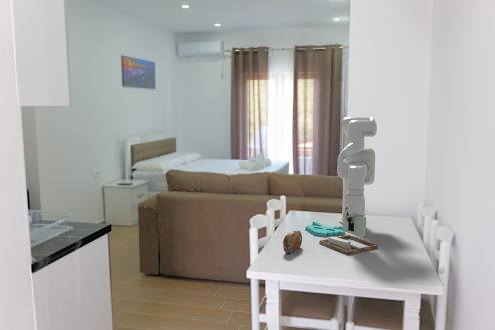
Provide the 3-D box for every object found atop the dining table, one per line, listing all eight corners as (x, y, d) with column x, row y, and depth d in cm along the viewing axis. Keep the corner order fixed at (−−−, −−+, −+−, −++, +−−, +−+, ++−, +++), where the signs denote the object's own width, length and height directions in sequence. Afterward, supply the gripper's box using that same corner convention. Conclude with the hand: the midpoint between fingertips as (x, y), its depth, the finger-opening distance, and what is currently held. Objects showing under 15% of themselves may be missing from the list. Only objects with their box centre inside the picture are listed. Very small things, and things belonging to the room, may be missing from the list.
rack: (348, 237, 216) (348, 234, 216) (377, 248, 200) (378, 244, 200) (319, 243, 206) (319, 240, 206) (347, 255, 190) (347, 251, 190)
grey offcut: (332, 241, 205) (332, 236, 205) (350, 246, 198) (350, 241, 197) (328, 242, 203) (328, 237, 202) (346, 247, 196) (346, 242, 195)
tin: (288, 255, 189) (288, 237, 188) (281, 254, 191) (281, 236, 189) (302, 246, 202) (302, 229, 200) (296, 245, 203) (296, 228, 202)
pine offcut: (332, 244, 206) (332, 240, 206) (351, 251, 196) (351, 247, 196) (327, 245, 204) (327, 241, 204) (346, 253, 195) (346, 248, 194)
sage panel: (346, 229, 211) (347, 211, 209) (365, 236, 200) (366, 217, 199) (342, 230, 209) (343, 212, 208) (360, 237, 199) (361, 218, 198)
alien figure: (313, 224, 241) (300, 234, 223) (313, 221, 240) (300, 229, 223) (349, 230, 232) (338, 239, 214) (349, 225, 231) (339, 235, 214)
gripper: (361, 188, 209) (360, 225, 212) (336, 192, 201) (335, 230, 203) (373, 191, 203) (371, 229, 206) (348, 195, 194) (346, 235, 197)
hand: (353, 229), depth 204 cm, fingers closed on sage panel, 3 cm apart
